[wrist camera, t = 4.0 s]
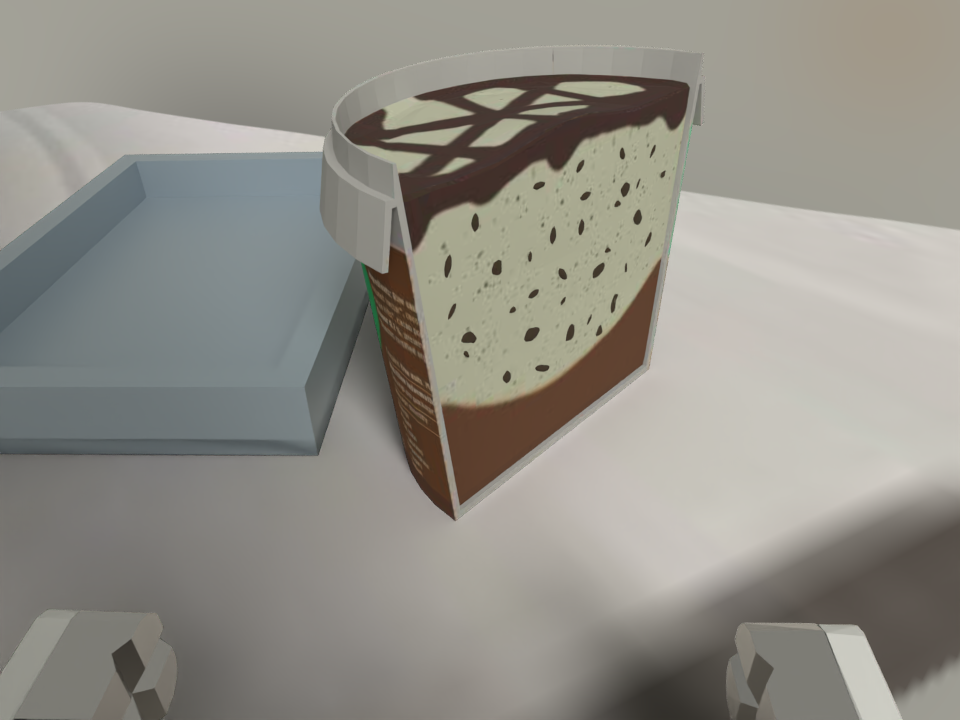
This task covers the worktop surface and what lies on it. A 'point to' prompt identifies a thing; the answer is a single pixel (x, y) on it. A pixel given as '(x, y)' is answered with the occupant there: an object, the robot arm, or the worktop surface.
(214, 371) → the tray
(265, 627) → the worktop surface
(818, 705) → the robot arm
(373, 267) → the food container
